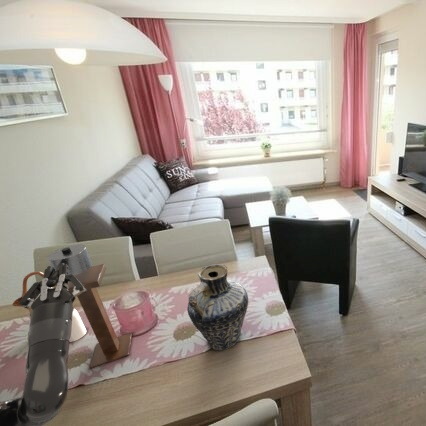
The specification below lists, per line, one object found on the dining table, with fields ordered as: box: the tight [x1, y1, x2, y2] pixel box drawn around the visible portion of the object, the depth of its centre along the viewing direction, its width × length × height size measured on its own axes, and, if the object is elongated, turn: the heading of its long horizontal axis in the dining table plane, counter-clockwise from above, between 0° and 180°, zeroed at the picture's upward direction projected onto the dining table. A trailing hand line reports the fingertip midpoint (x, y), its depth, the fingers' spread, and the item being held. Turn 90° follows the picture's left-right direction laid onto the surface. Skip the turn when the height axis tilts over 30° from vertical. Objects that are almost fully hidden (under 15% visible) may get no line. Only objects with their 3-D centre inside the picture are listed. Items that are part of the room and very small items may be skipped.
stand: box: [55, 263, 133, 369], centre depth 97 cm, size 11×11×32 cm
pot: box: [46, 244, 93, 287], centre depth 82 cm, size 9×20×7 cm, turn 25°
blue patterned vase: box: [187, 263, 249, 351], centre depth 100 cm, size 21×19×30 cm
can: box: [69, 307, 87, 343], centre depth 108 cm, size 6×6×12 cm
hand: (57, 266), depth 79 cm, fingers closed on pot
